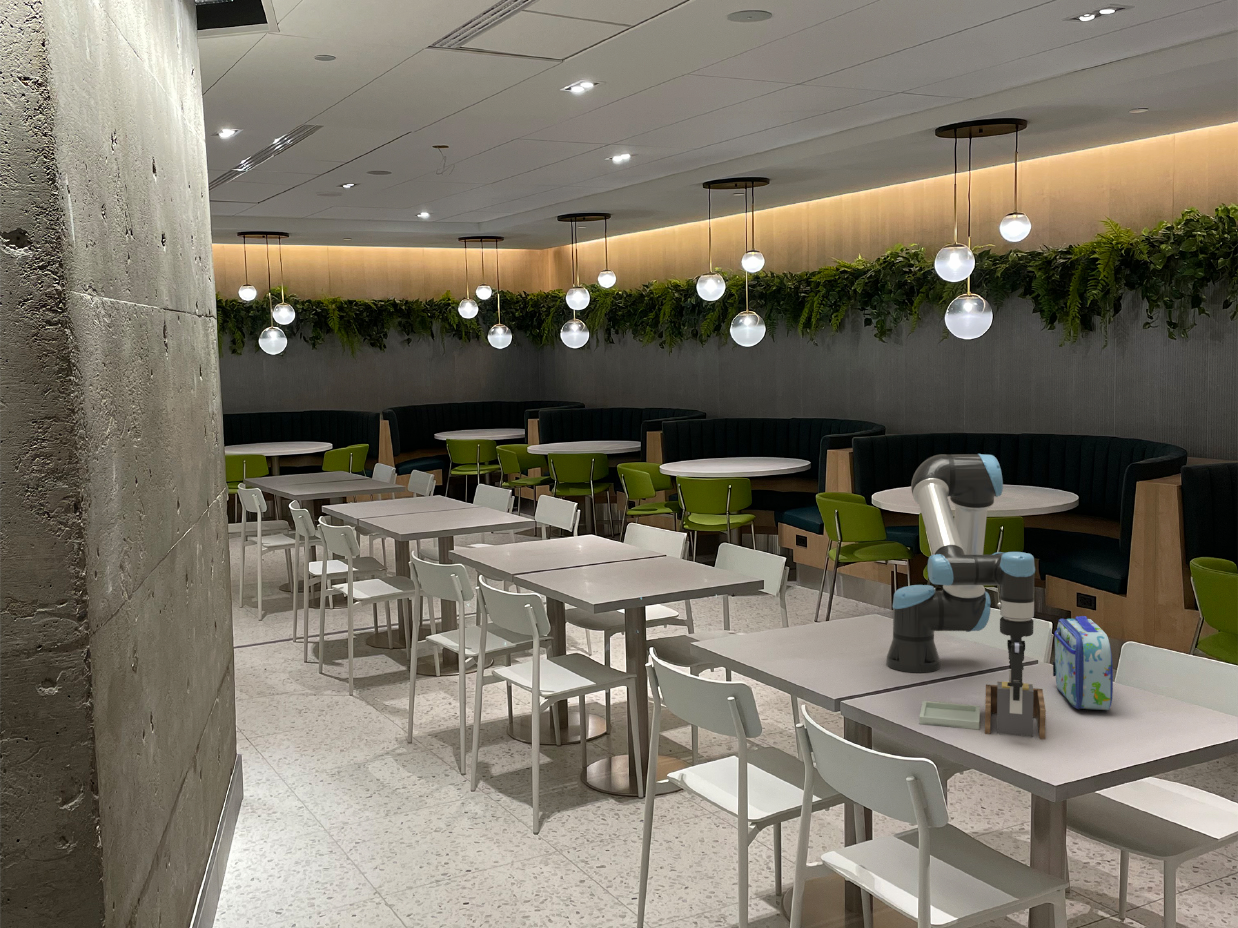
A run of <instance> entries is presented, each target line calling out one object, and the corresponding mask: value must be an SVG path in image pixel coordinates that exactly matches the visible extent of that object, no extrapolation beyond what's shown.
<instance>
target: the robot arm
mask: <svg viewBox="0 0 1238 928" xmlns="http://www.w3.org/2000/svg"><path fill="white" fill-rule="evenodd" d="M1002 473H1003V472H1002V469H1001V466H1000V463H999V461H998V459H997V457H995V455H993V454H981V453H977V454H976V453H975V454H972V453H971V454H969V453H968V454H966V453H965V454H964V453H963V454H961V453H960V454H936V455H933V456H930V457H928V458H926V459H925V460H924V461H923V462H922V463H921V464H920V465H919V466H918V467H917V468H916V470H915V472H914V473H913V476H912V479H911V485H910V488H911V489H910V490H911V494H912V496H913V500H914V501H915V503H917V504H918V505H919V509H920V512H921V516H922V519H923V523H924V526H925V531H926V534H927V537H928V542H929V545H930V548H931V552H932V555H930V556H929V557H928V560H927V573H928V574H927V577H928V579H929V582H930V583H931V584H932V585H930V584H924V585H923V584H914V585H908V586H903V587H900V588H898V589H897V590H896V591H895V592H894V593H893V601H892V610H893V612H892V613H893V614H892V615H893V616H892V641H891V644H890V645H889V649H888V653H887V655H886V666H887V667H888V668H891V669H893V670H896V671H901V672H905V673H906V672H907V673H931V672H935V671H938V670H939V669H940V667H941V659H940V655H939V653H938V650H937V647H936V642H935V632H966V633H968V632H969V633H970V632H980V631H982V630H983V629H985V628H986V627H987V625H988V623H989V620H990V616H991V603H992V602H991V597H990V594H989V593H988V591H986V589H985V586H1000V602H998V603H997V607H999V609H1000V612H999V614H1000V616H1001V617H1000V619H999V633H1001V634H1002V635H1004V636H1006V637H1007V636H1010V637H1009V638H1010V639H1007V641H1006V642H1007V643H1006V644H1007V645H1006V646H1007V650H1008V652H1007V653H1008V660H1009V661H1008V663H1009V665H1008V667H1009V670H1008V672H1009V673H1008V681H1007V682H1008V684H1007V686H1010V713H1015V714H1022V688H1023V687H1022V686H1023V683H1024V682H1023V671H1024V668H1025V667H1024V665H1023V662H1024V661H1025V651H1026V641H1025V640H1023V637H1024V638H1025V637H1026V638H1027V637H1030V636H1033V634H1034V620H1033V618H1034V616H1035V572H1036V566H1035V557H1034V555H1032V554H1031V553H1029V552H1028V553H1026V552H1023V551H1022V552H1021V551H1008V552H1001V551H998V552H994V553H991V554H984V549H985V548H984V547H985V546H984V545H985V536H986V528H987V526H986V525H987V518H988V517H987V515H988V509H989V508H991V507H992V506H993V505H994V503H995V498H998V497H1000V496H1002V495H1003V489H1004V481H1003V475H1002ZM948 497H949V499H948ZM949 500H950V502H951V503H952V504H953V505H954V507H955V508H954V515H953V512H952V508H951V505H950V502H949ZM933 585H935V586H936V585H938V586H939V585H940V586H942V590H936V589H935V587H934V586H933ZM1009 682H1011V683H1009Z"/></svg>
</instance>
